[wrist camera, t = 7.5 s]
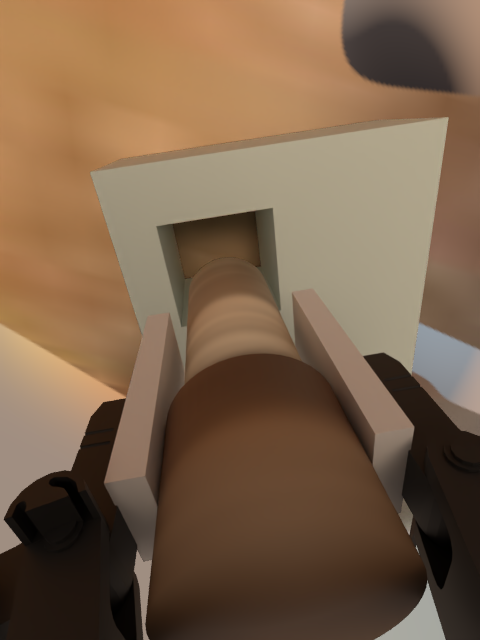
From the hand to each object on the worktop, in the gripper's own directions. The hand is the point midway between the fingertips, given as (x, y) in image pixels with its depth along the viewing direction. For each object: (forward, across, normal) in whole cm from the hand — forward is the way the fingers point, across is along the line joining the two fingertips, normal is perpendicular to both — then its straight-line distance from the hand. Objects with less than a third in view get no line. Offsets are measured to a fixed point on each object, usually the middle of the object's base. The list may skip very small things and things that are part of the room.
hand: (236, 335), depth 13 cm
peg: (+4, 0, 0) cm, 4 cm away
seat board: (+13, +3, -2) cm, 14 cm away
